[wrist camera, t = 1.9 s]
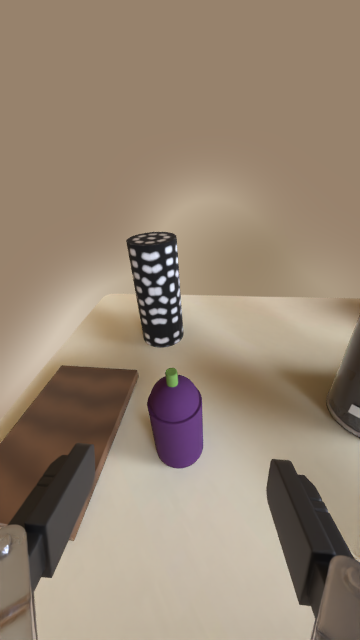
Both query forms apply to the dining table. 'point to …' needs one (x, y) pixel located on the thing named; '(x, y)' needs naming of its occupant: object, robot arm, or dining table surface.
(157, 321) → the spotted tube
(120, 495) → the dining table surface
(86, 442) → the cutting board
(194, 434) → the eggplant
